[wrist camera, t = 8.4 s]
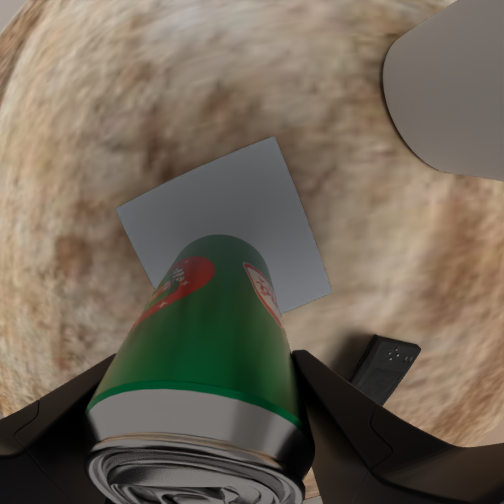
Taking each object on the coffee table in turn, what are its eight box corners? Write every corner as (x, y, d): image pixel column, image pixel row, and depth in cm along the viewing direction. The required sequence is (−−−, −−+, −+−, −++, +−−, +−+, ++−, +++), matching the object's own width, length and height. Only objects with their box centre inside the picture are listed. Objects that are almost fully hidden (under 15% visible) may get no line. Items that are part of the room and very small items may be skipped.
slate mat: (189, 342, 23) (188, 346, 22) (118, 207, 20) (115, 208, 19) (330, 289, 22) (332, 292, 21) (273, 136, 19) (274, 135, 18)
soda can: (271, 317, 16) (313, 529, 5) (181, 323, 16) (122, 524, 4) (266, 227, 15) (346, 419, 3) (167, 235, 15) (18, 405, 3)
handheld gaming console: (385, 427, 26) (362, 484, 17) (330, 407, 30) (291, 455, 21) (425, 336, 24) (422, 377, 16) (360, 317, 28) (329, 347, 20)
